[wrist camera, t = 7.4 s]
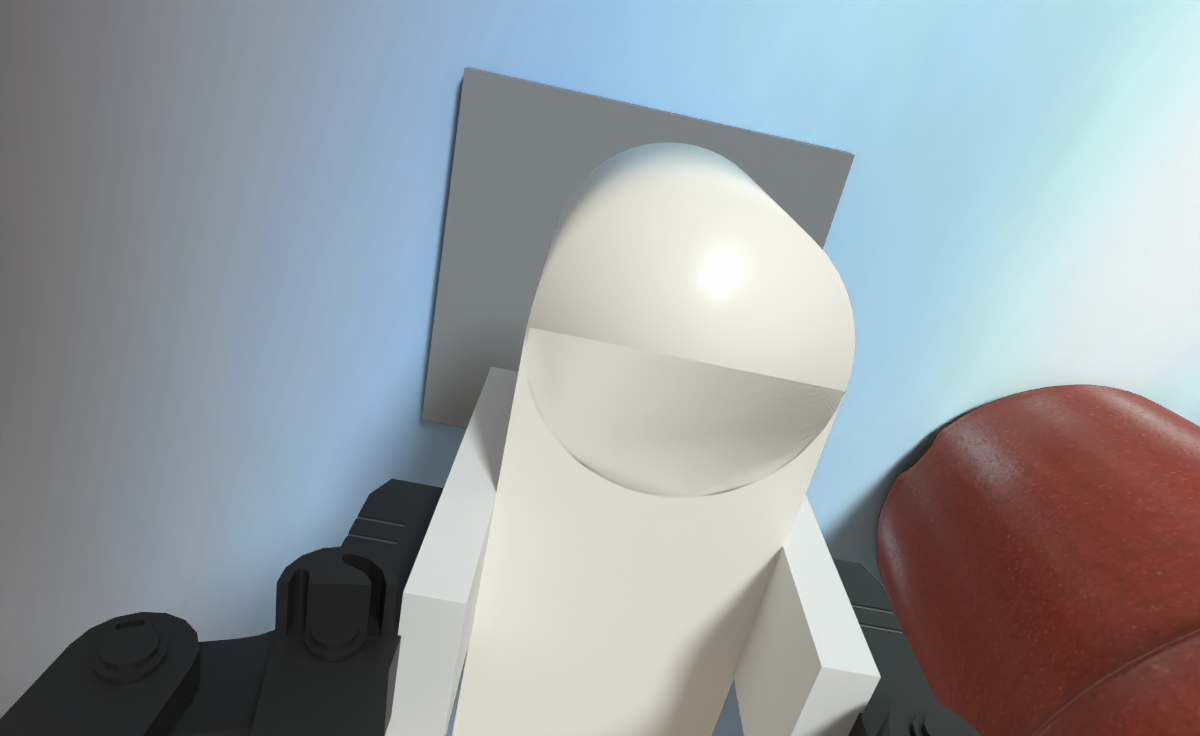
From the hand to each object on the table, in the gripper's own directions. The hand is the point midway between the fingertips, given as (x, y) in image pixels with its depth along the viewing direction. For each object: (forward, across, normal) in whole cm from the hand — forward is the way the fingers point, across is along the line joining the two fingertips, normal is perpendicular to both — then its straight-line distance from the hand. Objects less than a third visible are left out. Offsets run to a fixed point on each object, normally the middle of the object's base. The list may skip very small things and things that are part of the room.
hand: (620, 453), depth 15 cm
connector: (+1, 0, 0) cm, 1 cm away
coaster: (+11, 0, 0) cm, 11 cm away
